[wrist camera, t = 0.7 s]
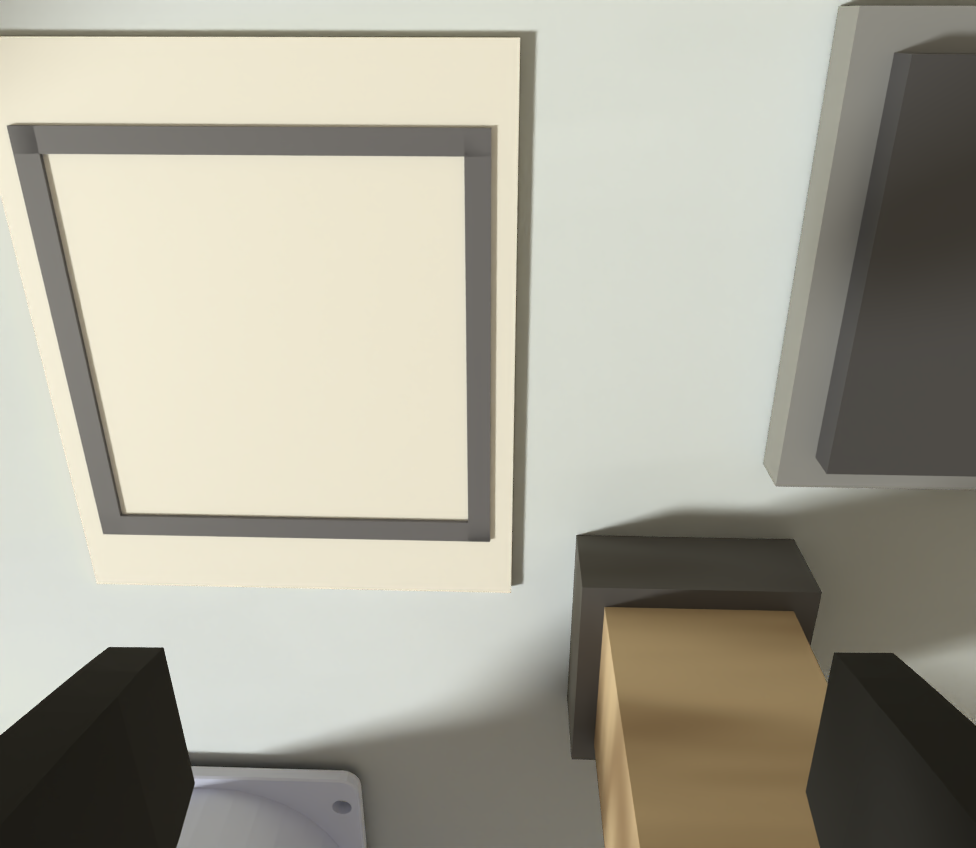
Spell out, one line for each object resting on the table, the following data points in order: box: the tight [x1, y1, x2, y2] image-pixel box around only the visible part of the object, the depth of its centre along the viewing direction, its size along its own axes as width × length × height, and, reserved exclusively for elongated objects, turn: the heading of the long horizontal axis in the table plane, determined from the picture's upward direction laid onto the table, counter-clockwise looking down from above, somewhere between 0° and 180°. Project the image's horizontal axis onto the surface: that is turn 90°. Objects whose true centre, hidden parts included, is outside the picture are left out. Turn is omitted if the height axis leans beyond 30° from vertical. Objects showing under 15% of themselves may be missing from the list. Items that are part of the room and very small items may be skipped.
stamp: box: [567, 535, 828, 848], centre depth 17 cm, size 5×5×8 cm
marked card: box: [0, 36, 520, 593], centre depth 17 cm, size 12×10×1 cm
